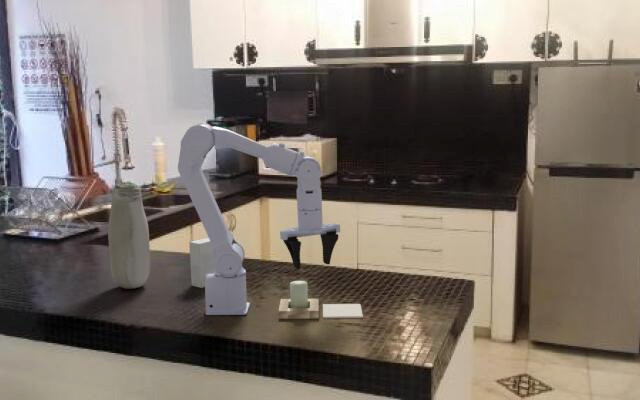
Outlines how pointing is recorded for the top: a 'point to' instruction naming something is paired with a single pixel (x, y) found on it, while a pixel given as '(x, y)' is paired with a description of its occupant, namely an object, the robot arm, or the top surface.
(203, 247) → the skincare box
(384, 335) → the top surface
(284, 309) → the pocket holder
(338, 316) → the pad
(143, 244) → the pale grey-green bottle
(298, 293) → the sage peg
